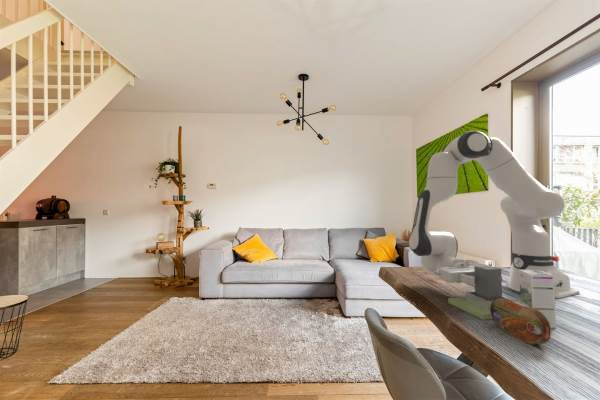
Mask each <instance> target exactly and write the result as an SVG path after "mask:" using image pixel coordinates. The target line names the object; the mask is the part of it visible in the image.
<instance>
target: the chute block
mask: <svg viewBox="0 0 600 400" xmlns="http://www.w3.org/2000/svg"><path fill="white" fill-rule="evenodd" d="M474 272H475V277H476V278H477V283H474V292H475V295H477V296H479V297H482V298H484V299H487V300H494V299H496V298H502V296H503V291H502V290H503V289H502V288H503V287H502V284H503V278H502V279H501V276H502V268H499V267H496V266H491V265H488V264H485V265H484V266H474Z"/></svg>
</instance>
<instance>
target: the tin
mask: <svg viewBox="0 0 600 400" xmlns="http://www.w3.org/2000/svg"><path fill="white" fill-rule="evenodd" d="M511 299H512V298H510V299H506V298H496V299H494V300H493V301H492V303H491V307H490V312H491V316H492V319H491V320H492V321H493V323H494V324H495V325H496V326H497V328H499V329H500V330H502V331H503V332H505V333H507V334H509V335H511V336H512V337H515V338H517V339H518V340H520V341H521V342H524V343H525V344H529V345H543V344H546V343H548V342H549V340H550V338H551V333H552V332H551V331H552V330H551V328H550V324H549V322H548V320H547V318H546V317H545V316H544V315H543V314H542V313H541V312H540V311H538V310H537V309H534V308H532V307H529V306H526V305H524V304H521V302H518V301H516V300H513V299H512V300H511Z"/></svg>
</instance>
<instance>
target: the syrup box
mask: <svg viewBox="0 0 600 400" xmlns="http://www.w3.org/2000/svg"><path fill="white" fill-rule="evenodd" d="M519 276H520V292H519V296H520V300H519V301H520V302H519V303H521V304H524V305H526V306H529V307H532V308H534V309H537V310H538V311H540V312H541V313H542V314H543V315H544V316H545V317H546V318H547V320H548V322H549V324H550V329H557V314H556V298H555V291H554V275H551V274H549V273H546V272H543V271H540V270H519Z"/></svg>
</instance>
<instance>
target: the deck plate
mask: <svg viewBox="0 0 600 400" xmlns="http://www.w3.org/2000/svg"><path fill="white" fill-rule="evenodd" d="M502 298H506V299H511V300H513V299H512V298H509V297H507V296H505V295H502ZM492 301H493V300H487V299H484V298H482V297H479V296H477V295H475V291H466V292H465V296H460V297H459V296H457V297H449V298H448V299H447V303H448V304H450V305H452V306H454V307H456V308H459V309H460V310H463V311H465V312H466V313H469V314H471V315H472V316H475V317H477V318H479V319H481V320H483V321H484V320H493V319H492V316H491V312H490V307H491V303H492Z"/></svg>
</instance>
